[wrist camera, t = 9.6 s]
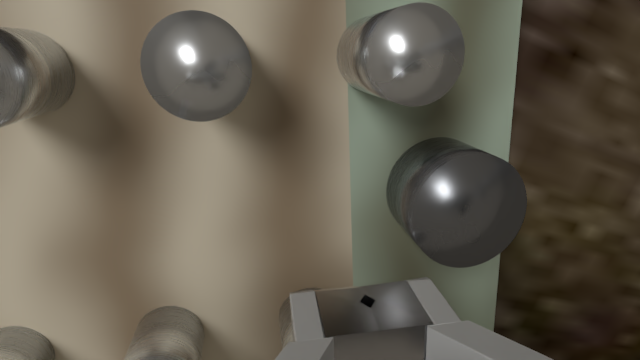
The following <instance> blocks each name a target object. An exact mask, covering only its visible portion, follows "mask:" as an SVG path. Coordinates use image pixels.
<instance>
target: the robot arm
mask: <svg viewBox="0 0 640 360" xmlns="http://www.w3.org/2000/svg"><path fill="white" fill-rule="evenodd" d="M290 310H291V324H292V338H293V342H289V343H287V344H286V346H285V347H284V348H283V350H282V351H281V352H280V353H279V355H278V356H277V357H276V358H275V360H553V359H551V358H549V357H547V356H545V355H543V354H540V353H538V352H536V351H534V350H532V349H530V348H527V347H525V346H523V345H521V344H519V343H517V342H514V341H512V340H510V339H508V338H506V337H504V336H501V335H499V334H497V333H495V332H493V331H491V330H489V329H486V328H484V327H482V326H480V325H478V324H476V323H473V322H471V321H469V320H468V321H461V320H460V318H459V317H458V316H457V314H456V313H455V311H454V310H453V309H452V307H451V306H450V305H449V303H448V302H447V301H446V299H445V298H444V297H443V295H442V294H441V293H440V291H439V290H438V289H437V287H436V286H435V285H434V283H433V282H432V281H431V279H429V278H427V277H424V278H417V279H410V280H404V281H397V282H390V283H382V284H375V285H368V286H352V287H341V288H330V289H319V290H314V291H313V290H307V291H298V292H290Z"/></svg>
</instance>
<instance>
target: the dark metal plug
mask: <svg viewBox="0 0 640 360" xmlns="http://www.w3.org/2000/svg"><path fill="white" fill-rule="evenodd" d="M386 197H387V203H388V207H389V210H390V212H391V214H392V216H393V217H394V219H395V220H396V221H397V222H398V224H399V225H400V226H401V227H402V228H403V229H404V230H405V232H406V233H407V234H408V235H409V236H410V237H411V238H412V240H413V241H414V242H415V243H416V244H417V245H418V246H419V247H420V249H421V250H422V251H423V252H424V253H425V254H426V255H427V256H428V257H429V258H431V259H432V260H433V261H435V262H437V263H439V264H441V265H444V266H448V267H453V268H466V267H472V266H476V265H479V264H482V263H484V262H487V261H489V260H490V259H492V258H494V257H495V256H497V255H498V254H500V253H501V252H502V251H503V250H504V249H505V248H506V247H507V246H508V245H509V244H510V243H511V242H512V241H513V239H514V238H515V236H516V235H517V233H518V231H519V230H520V228H521V225H522V223H523V220H524V217H525V213H526V206H527V197H526V190H525V186H524V183H523V180H522V178H521V177H520V175H519V173H518V172H517V171H516V169H515V168H514V167H513V166H512V165H511V164H509V163H508V162H507V161H505V160H503V159H501V158H499V157H497V156H495V155H492V154H490V153H487V152H485V151H483V150H480V149H478V148H476V147H473V146H471V145H468V144H466V143H464V142H461V141H459V140H456V139H453V138H448V137H435V138H430V139H426V140H423V141H421V142H419V143H417V144H415V145H413V146H412V147H410V148H409V149H408V150H407V151H405V152H404V153H403V154H402V155H401V156H400V158H399V159H398V160H397V161H396V163H395V165H394V166H393V168H392V170H391V172H390V175H389V178H388V182H387V188H386Z"/></svg>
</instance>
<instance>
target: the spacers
mask: <svg viewBox="0 0 640 360" xmlns="http://www.w3.org/2000/svg"><path fill="white" fill-rule="evenodd" d="M464 55H465V46H464V39H463V35H462V32H461V30H460V28H459V26H458V24H457V22H456V21H455V20H454V18H453V17H452V16H451V15H450V14H449V13H448V12H447V11H445V10H444V9H442V8H441V7H439V6H436V5H434V4H430V3H424V2H417V3H410V4H407V5H403V6H400V7H396V8H393V9H389V10H386V11H383V12H379V13H376V14H372V15H369V16H366V17H362V18H360V19H358V20H356V21H354V22H353V23H352V24H351V25H349V26H348V27H347V28H346V30H345V31H344V32H343V34H342V36H341V38H340V40H339V43H338V47H337V64H338V68H339V71H340V73H341V75H342V76H343V78H344V79H345V81H346V82H347V83H348V84H349V85H351V86H352V87H354V88H355V89H357V90H360V91H362V92H365V93H368V94H371V95H374V96H377V97H380V98H383V99H386V100H388V101H391V102H394V103H397V104H400V105H404V106H410V107H417V106H424V105H427V104H430V103H432V102H435V101H436V100H438V99H440V98H441V97H442V96H444V95H445V94H446V93H447V92H448V91H449V90H450V89H451V88H452V86H453V85H454V84H455V82H456V81H457V79H458V77H459V75H460V72H461V70H462V67H463V62H464ZM140 66H141V73H142V77H143V80H144V83H145V86H146V88H147V89H148V91H149V93H150V94H151V96H152V97H153V99H154V100H155V101H156V102H157V103H158V104H159V105H160V106H161V107H162V108H163V109H165V110H166V111H168V112H169V113H171V114H173V115H174V116H176V117H179V118H182V119H185V120H189V121H196V122H205V121H212V120H215V119H219V118H221V117H223V116H225V115H227V114H229V113H230V112H232V111H233V110H234V109H235V108H236V107H237V106H238V105H239V104H240V103H241V102H242V100H243V99H244V97H245V95H246V94H247V92H248V89H249V86H250V82H251V77H252V63H251V57H250V54H249V51H248V48H247V46H246V44H245V42H244V40H243V38H242V37H241V36H240V34H239V33H238V32H237V31H236V30H235V29H234V28H233V26H231V25H230V24H229V23H228V22H226V21H225V20H223V19H222V18H220V17H218V16H216V15H214V14H211V13H208V12H204V11H198V10H187V11H180V12H176V13H173V14H171V15H168V16H167V17H165V18H163V19H162V20H161V21H159V22H158V23H157V24H156V25H155V26H154V27H153V28H152V29H151V31H150V32H149V33H148V35H147V37H146V39H145V41H144V44H143V47H142V51H141V57H140ZM74 87H75V71H74V67H73V64H72V62H71V59H70V58H69V56H68V54H67V53H66V51H65V50H64V49H63V48H62V47H61V46H60V45H59V44H58V43H57V42H56V41H55V40H53V39H52V38H50V37H48V36H47V35H45V34H42V33H40V32H37V31H33V30H28V29H19V28H9V27H0V128H1V127H4V126H7V125H11V124H14V123H17V122H20V121H23V120H27V119H30V118H33V117H36V116H40V115H43V114H46V113H49V112H52V111H55V110H57V109H59V108H60V107H62V106H63V105H64V104H65V103H66V102H67V101H68V100H69V98H70V97H71V95H72V93H73V90H74ZM319 289H321V288H313V287H312V288H304V289H301V290H298V291H307V290H313V291H314V290H319ZM298 291H296V292H298ZM279 327H280V336H281V344H282V350H283V348H284V347H285V346H286V344H287V343H289V342H293V338H292V324H291V310H290V296H289V297H288V298H287V299H286V300H285V301H284V302H283V304H282V306H281V308H280V311H279ZM203 342H204V327H203V324H202V322H201V320H200V319H199V318H198V316H196V315H195V314H194V313H193V312H191V311H190V310H188V309H185V308H182V307H178V306H164V307H159V308H156V309H154V310H152V311H150V312H148V313H147V314H146V315H145V316H144V317H143V318H142V319H141V320H140V322H139V324H138V326H137V328H136V331H135V333H134V336H133V338H132V341H131V343H130V346H129V348H128V351H127V353H126V356H125V358H124V360H201V355H202V349H203ZM0 360H55V351H54V348H53V346H52V344H51V343H50V341H49V340H48V339H47V338H46V337H45V336H44V335H42V334H41V333H39V332H38V331H35V330H33V329H30V328H27V327H21V326H8V327H3V328H0Z"/></svg>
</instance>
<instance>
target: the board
mask: <svg viewBox="0 0 640 360" xmlns="http://www.w3.org/2000/svg"><path fill="white" fill-rule="evenodd" d="M417 2H424V3H430V4H434V5H436V6H439V7H441V8H442V9H444V10H445V11H447V12H448V13H449V14H450V15H451V16H452V17H453V18H454V20H455V21H456V22H457V24H458V26H459V28H460V30H461V32H462V35H463V39H464V46H465V55H464V62H463V67H462V70H461V72H460V75H459V77H458V79H457V81H456V82H455V84H454V85H453V86H452V88H451V89H450V90H449V91H448V92H447V93H446V94H445V95H444V96H442V97H441V98H440V99H438V100H436V101H435V102H432V103H430V104H427V105H424V106H417V107H410V106H404V105H400V104H397V103H394V102H391V101H388V100H386V99H383V98H380V97H377V96H374V95H371V94H368V93H365V92H362V91H360V90H357V89H355V88H354V87H352V86H351V85H349V84H348V83H347V82H346V81H345V79H344V78H343V76H342V75H341V73H340V71H339V68H338V64H337V47H338V43H339V40H340V38H341V36H342V34H343V32H344V31H345V30H346V28H347V27H348V26H349V25H351V24H352V23H353V22H354V21H356V20H358V19H360V18H362V17H366V16H369V15H372V14H376V13H379V12H383V11H386V10H389V9H393V8H396V7H400V6H403V5H407V4H410V3H417ZM187 10H198V11H204V12H208V13H211V14H214V15H216V16H218V17H220V18H222V19H223V20H225V21H226V22H228V23H229V24H230V25H231V26H233V28H234V29H235V30H236V31H237V32H238V33H239V34H240V36H241V37H242V38H243V40H244V42H245V44H246V46H247V48H248V51H249V54H250V57H251V63H252V77H251V82H250V86H249V89H248V92H247V94H246V95H245V97H244V99H243V100H242V102H241V103H240V104H239V105H238V106H237V107H236V108H235V109H234V110H233V111H232V112H230V113H229V114H227V115H225V116H223V117H221V118H219V119H215V120H212V121H205V122H196V121H189V120H185V119H182V118H179V117H176V116H174V115H173V114H171V113H169V112H168V111H166V110H165V109H163V108H162V107H161V106H160V105H159V104H158V103H157V102H156V101H155V100H154V99H153V97H152V96H151V94H150V93H149V91H148V89H147V88H146V86H145V83H144V80H143V77H142V73H141V66H140V57H141V51H142V47H143V44H144V41H145V39H146V37H147V35H148V33H149V32H150V31H151V29H152V28H153V27H154V26H155V25H156V24H157V23H158V22H159V21H161V20H162V19H163V18H165V17H167V16H168V15H171V14H173V13H176V12H180V11H187ZM521 11H522V0H0V27H9V28H19V29H28V30H33V31H37V32H40V33H42V34H45V35H47V36H48V37H50V38H52V39H53V40H55V41H56V42H57V43H58V44H59V45H60V46H61V47H62V48H63V49H64V50H65V51H66V53H67V54H68V56H69V58H70V59H71V62H72V64H73V67H74V71H75V87H74V90H73V93H72V95H71V97H70V98H69V100H68V101H67V102H66V103H65V104H64V105H63V106H62V107H60V108H59V109H57V110H55V111H52V112H49V113H46V114H43V115H40V116H36V117H33V118H30V119H27V120H23V121H20V122H17V123H14V124H11V125H7V126H4V127H1V128H0V328H3V327H8V326H21V327H27V328H30V329H33V330H35V331H38V332H39V333H41V334H42V335H44V336H45V337H46V338H47V339H48V340H49V341H50V343H51V344H52V346H53V348H54V351H55V360H124V358H125V356H126V353H127V351H128V348H129V346H130V343H131V341H132V338H133V336H134V333H135V331H136V328H137V326H138V324H139V322H140V320H141V319H142V318H143V317H144V316H145V315H146V314H147V313H148V312H150V311H152V310H154V309H156V308H159V307H164V306H178V307H182V308H185V309H188V310H190V311H191V312H193V313H194V314H195V315H196V316H198V318H199V319H200V320H201V322H202V324H203V327H204V342H203V349H202V355H201V360H275V358H276V357H277V356H278V355H279V353H280V352H281V351H282V344H281V336H280V327H279V311H280V308H281V306H282V304H283V302H284V301H285V300H286V299H287V298H288V297H289V296H290V292H296V291H298V290H301V289H304V288H312V287H313V288H321V289H330V288H341V287H352V286H368V285H375V284H382V283H390V282H397V281H404V280H410V279H417V278H424V277H427V278H429V279H431V281H432V282H433V283H434V285H435V286H436V287H437V289H438V290H439V291H440V293H441V294H442V295H443V297H444V298H445V299H446V301H447V302H448V303H449V305H450V306H451V307H452V309H453V310H454V311H455V313H456V314H457V316H458V317H459V318H460V320H461V321H468V320H469V321H471V322H473V323H476V324H478V325H480V326H482V327H484V328H486V329H489V330H491V331H493V332H494V321H495V309H496V298H497V286H498V275H499V263H500V254H498V255H497V256H495V257H494V258H492V259H490V260H489V261H487V262H484V263H482V264H479V265H476V266H472V267H466V268H453V267H448V266H444V265H441V264H439V263H437V262H435V261H433V260H432V259H431V258H429V257H428V256H427V255H426V254H425V253H424V252H423V251H422V250H421V249H420V247H419V246H418V245H417V244H416V243H415V242H414V241H413V240H412V238H411V237H410V236H409V235H408V234H407V233H406V232H405V230H404V229H403V228H402V227H401V226H400V225H399V224H398V222H397V221H396V220H395V219H394V217H393V216H392V214H391V212H390V210H389V207H388V203H387V197H386V188H387V182H388V178H389V175H390V172H391V170H392V168H393V166H394V165H395V163H396V161H397V160H398V159H399V158H400V156H401V155H402V154H403V153H404V152H405V151H407V150H408V149H409V148H410V147H412V146H413V145H415V144H417V143H419V142H421V141H423V140H426V139H430V138H435V137H448V138H453V139H456V140H459V141H461V142H464V143H466V144H468V145H471V146H473V147H476V148H478V149H480V150H483V151H485V152H487V153H490V154H492V155H495V156H497V157H499V158H501V159H503V160H505V161H507V162H508V160H509V148H510V137H511V125H512V114H513V102H514V91H515V79H516V68H517V56H518V45H519V34H520V22H521Z"/></svg>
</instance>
